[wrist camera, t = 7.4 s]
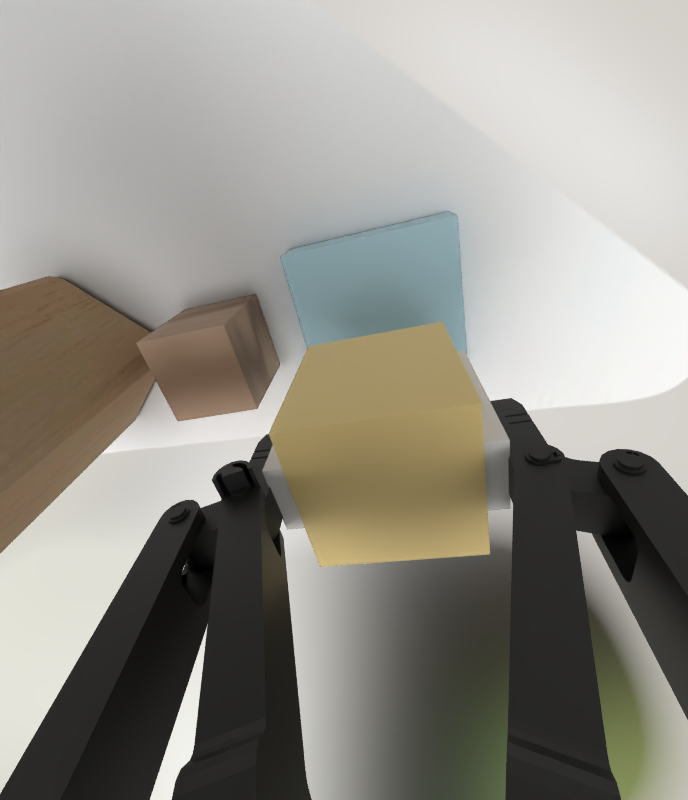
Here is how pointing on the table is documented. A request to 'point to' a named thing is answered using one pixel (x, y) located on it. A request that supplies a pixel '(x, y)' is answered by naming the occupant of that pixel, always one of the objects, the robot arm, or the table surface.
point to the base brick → (380, 281)
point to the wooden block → (60, 391)
